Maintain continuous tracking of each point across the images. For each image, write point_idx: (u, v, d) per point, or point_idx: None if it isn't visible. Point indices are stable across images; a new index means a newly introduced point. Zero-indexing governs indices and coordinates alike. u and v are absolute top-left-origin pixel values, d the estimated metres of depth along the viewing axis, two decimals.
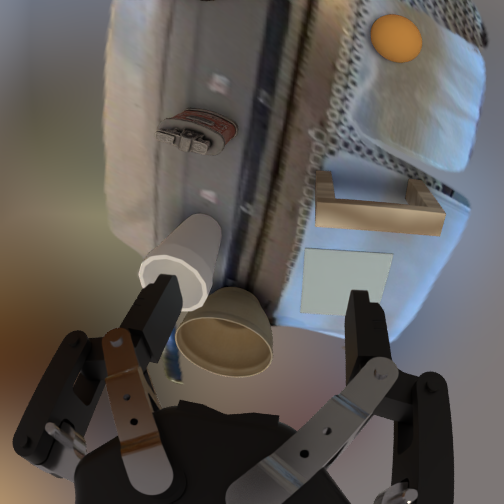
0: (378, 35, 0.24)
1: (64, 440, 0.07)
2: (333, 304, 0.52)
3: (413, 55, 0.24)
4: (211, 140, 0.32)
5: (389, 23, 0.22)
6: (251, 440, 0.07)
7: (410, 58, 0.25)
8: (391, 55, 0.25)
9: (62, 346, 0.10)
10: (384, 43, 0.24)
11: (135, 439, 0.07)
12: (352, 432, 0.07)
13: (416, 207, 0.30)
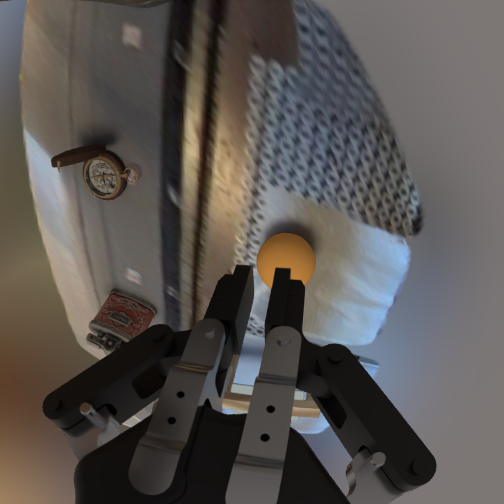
0: (259, 272, 0.31)
1: (95, 423, 0.08)
2: None
3: None
4: None
5: (269, 265, 0.29)
6: None
7: None
8: None
9: (143, 335, 0.11)
10: (264, 282, 0.31)
11: (161, 437, 0.07)
12: (292, 399, 0.08)
13: (294, 402, 0.37)
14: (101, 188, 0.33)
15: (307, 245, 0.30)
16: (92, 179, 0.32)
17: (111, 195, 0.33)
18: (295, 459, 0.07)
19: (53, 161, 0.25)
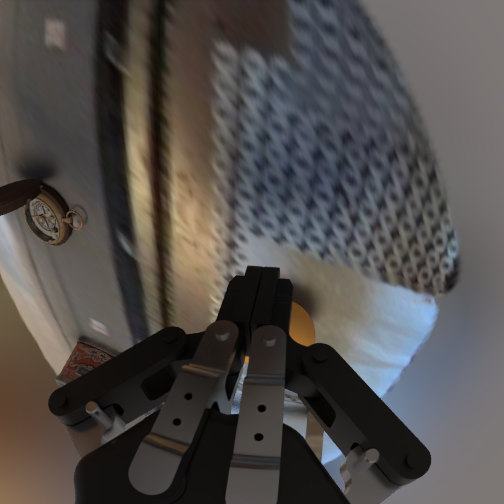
0: None
1: (100, 422, 0.08)
2: None
3: None
4: None
5: None
6: None
7: None
8: None
9: (155, 336, 0.11)
10: None
11: (164, 438, 0.07)
12: (282, 397, 0.08)
13: None
14: (45, 230, 0.24)
15: (304, 318, 0.21)
16: (34, 218, 0.23)
17: (55, 242, 0.24)
18: (295, 459, 0.07)
19: None
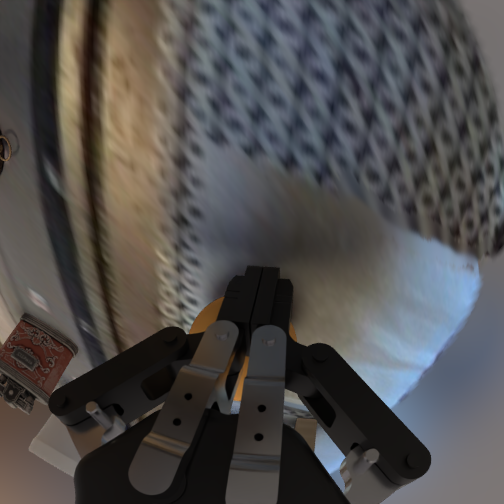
0: None
1: (100, 422, 0.08)
2: None
3: None
4: (34, 394, 0.22)
5: None
6: None
7: None
8: None
9: (156, 336, 0.11)
10: None
11: (164, 438, 0.07)
12: (282, 397, 0.08)
13: None
14: None
15: None
16: None
17: None
18: (295, 459, 0.07)
19: None
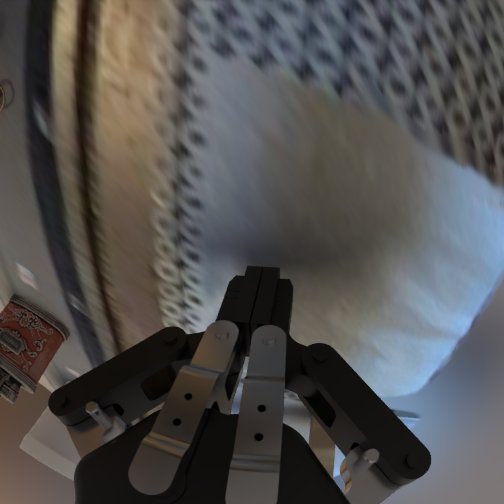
0: None
1: (100, 422, 0.08)
2: None
3: None
4: (19, 381, 0.19)
5: None
6: None
7: None
8: None
9: (156, 336, 0.11)
10: None
11: (164, 438, 0.07)
12: (282, 397, 0.08)
13: None
14: None
15: None
16: None
17: None
18: (295, 459, 0.07)
19: None
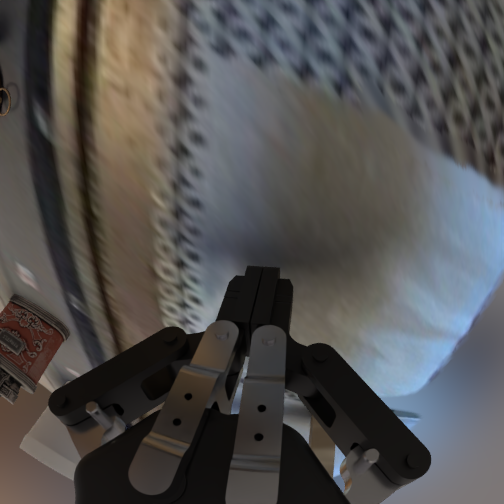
0: None
1: (100, 422, 0.08)
2: None
3: None
4: (19, 381, 0.19)
5: None
6: None
7: None
8: None
9: (156, 336, 0.11)
10: None
11: (164, 438, 0.07)
12: (282, 397, 0.08)
13: None
14: None
15: None
16: None
17: None
18: (295, 459, 0.07)
19: None
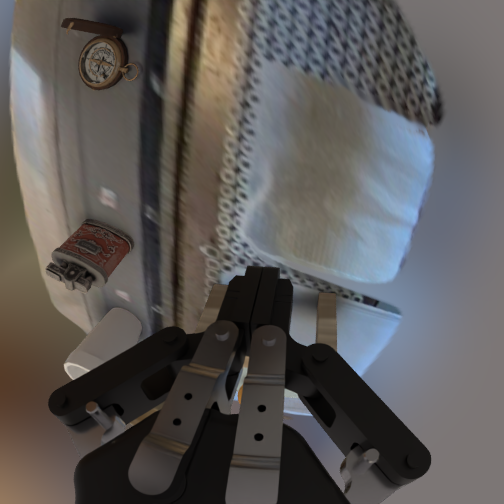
0: None
1: (100, 422, 0.08)
2: None
3: None
4: (94, 275, 0.31)
5: None
6: None
7: None
8: None
9: (156, 336, 0.11)
10: None
11: (164, 438, 0.07)
12: (283, 397, 0.08)
13: None
14: (91, 74, 0.25)
15: None
16: (87, 61, 0.24)
17: (98, 84, 0.25)
18: (295, 459, 0.07)
19: (66, 21, 0.16)
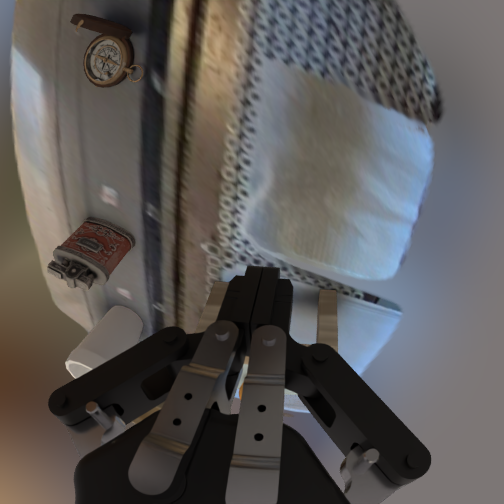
0: None
1: (100, 422, 0.08)
2: None
3: None
4: (95, 272, 0.31)
5: None
6: None
7: None
8: None
9: (155, 336, 0.11)
10: None
11: (164, 438, 0.07)
12: (282, 397, 0.08)
13: None
14: (96, 70, 0.25)
15: None
16: (93, 57, 0.24)
17: (102, 82, 0.25)
18: (295, 459, 0.07)
19: (76, 17, 0.16)
